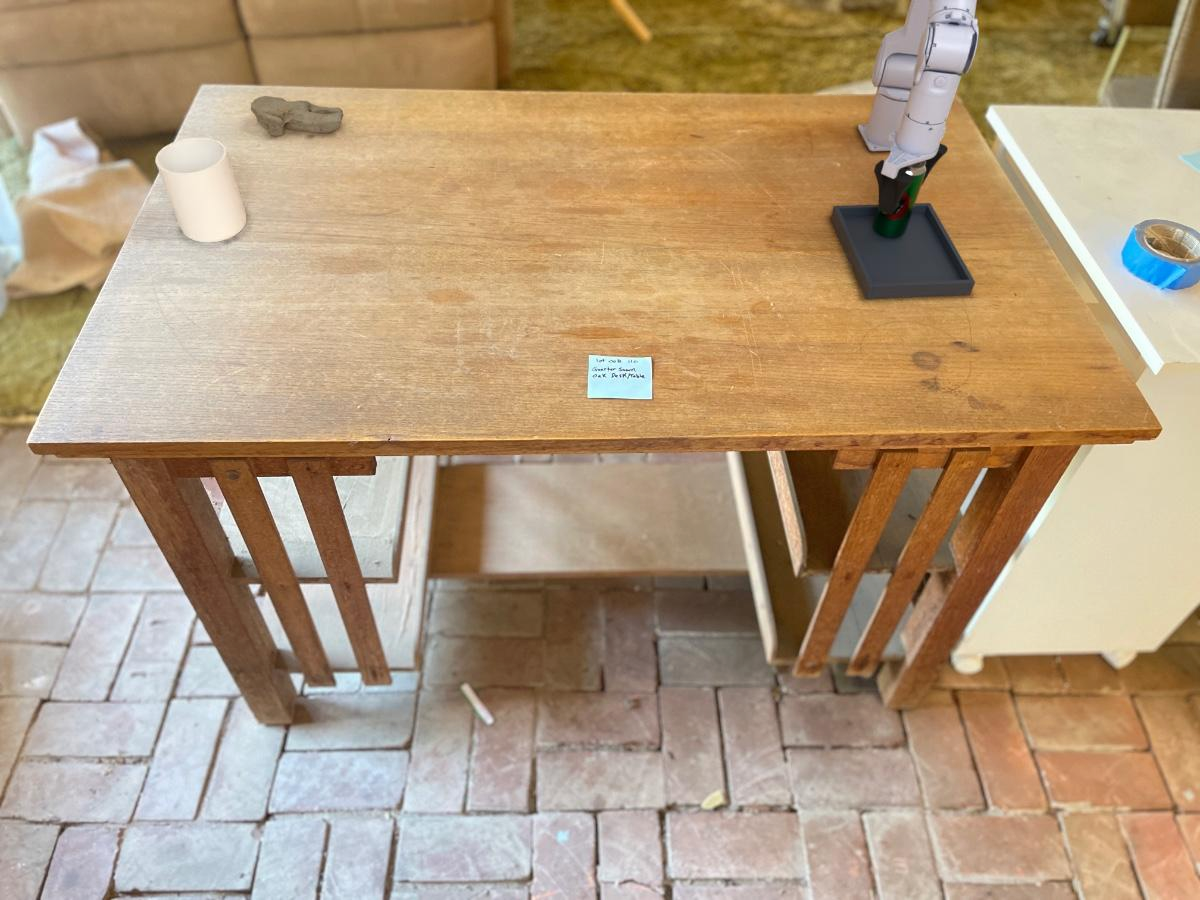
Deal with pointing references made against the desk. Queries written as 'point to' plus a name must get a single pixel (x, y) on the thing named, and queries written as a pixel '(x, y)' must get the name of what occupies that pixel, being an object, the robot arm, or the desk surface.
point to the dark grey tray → (901, 255)
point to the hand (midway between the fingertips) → (898, 200)
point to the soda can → (901, 206)
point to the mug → (202, 189)
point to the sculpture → (295, 116)
